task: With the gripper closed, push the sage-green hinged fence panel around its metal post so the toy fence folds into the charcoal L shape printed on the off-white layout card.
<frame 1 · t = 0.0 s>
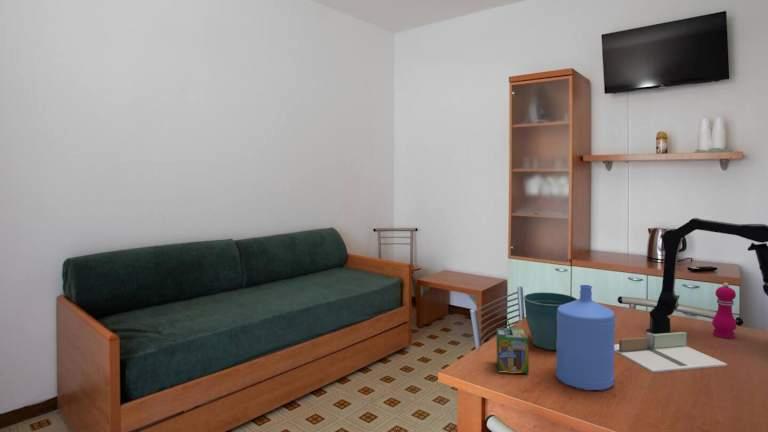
layout card: (663, 355, 150), on the table
flower pot: (549, 345, 162), on the table
pepper mill: (723, 336, 168), on the table
hinged panel: (669, 340, 156), point 3 cm above the table, hinge at 90.0°
water jug: (584, 380, 133), on the table
chalk box: (511, 368, 142), on the table
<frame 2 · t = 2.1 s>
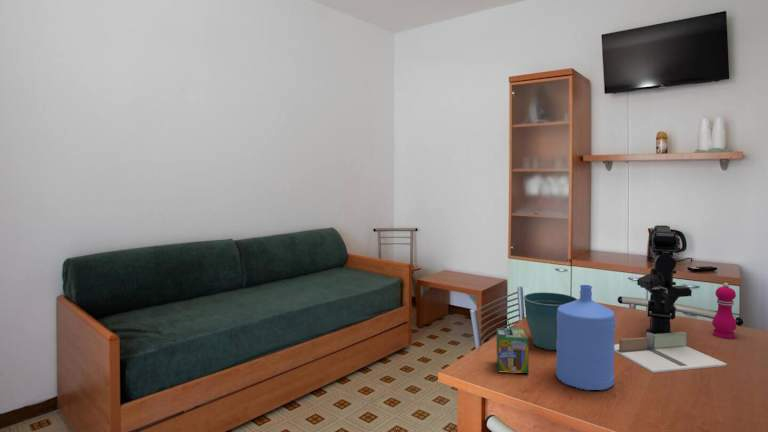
hand: (662, 310, 160), 12 cm above the table, tool pointing down, fingers open, 4 cm apart
nothing on the table moved.
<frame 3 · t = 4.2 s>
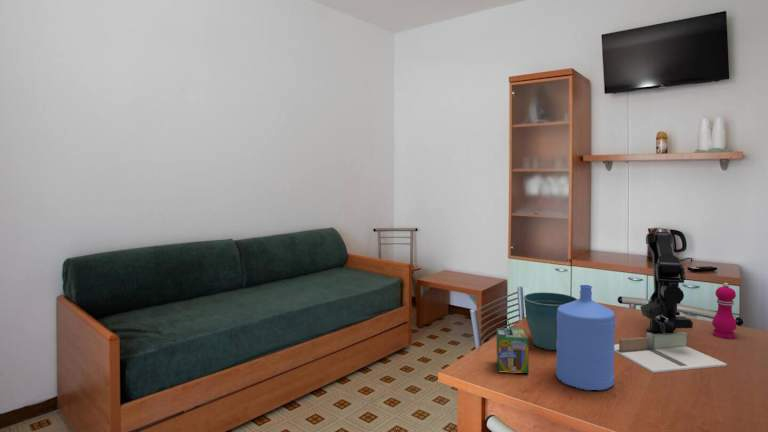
hand: (666, 339, 159), 2 cm above the table, tool pointing down, fingers closed
hinged panel: (669, 340, 156), point 3 cm above the table, hinge at 89.8°, touching gripper
everything else where it was.
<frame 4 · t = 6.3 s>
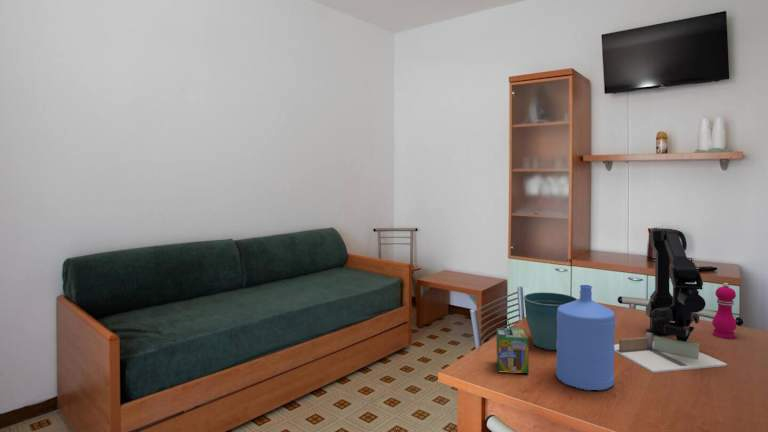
hand: (680, 348, 151), 2 cm above the table, tool pointing down, fingers closed
hinged panel: (675, 346, 150), point 3 cm above the table, hinge at 39.3°, touching gripper
everything else where it was.
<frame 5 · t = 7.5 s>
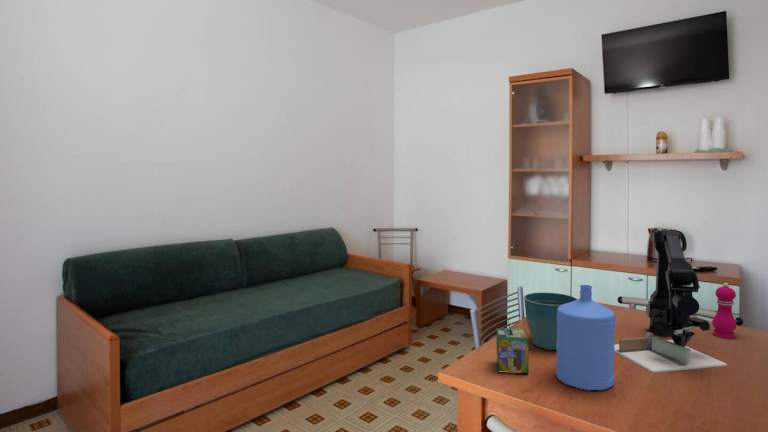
hand: (679, 352, 147), 2 cm above the table, tool pointing down, fingers closed
hinged panel: (670, 349, 147), point 3 cm above the table, hinge at 9.2°, touching gripper
everything else where it was.
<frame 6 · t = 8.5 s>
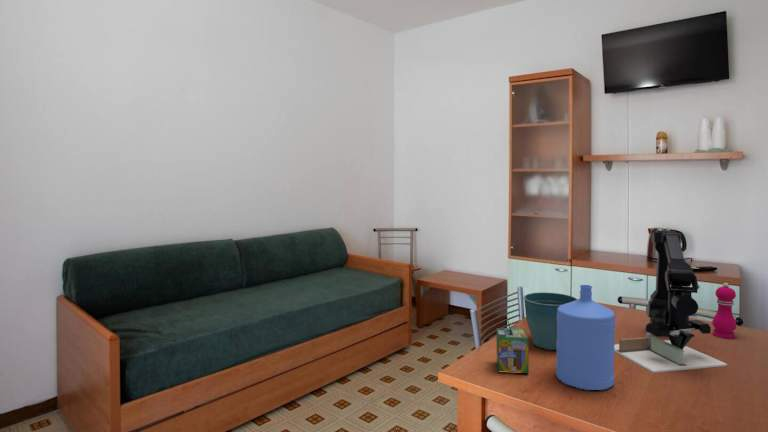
hand: (676, 353, 146), 2 cm above the table, tool pointing down, fingers closed
hinged panel: (666, 349, 147), point 3 cm above the table, hinge at -2.0°
everything else where it was.
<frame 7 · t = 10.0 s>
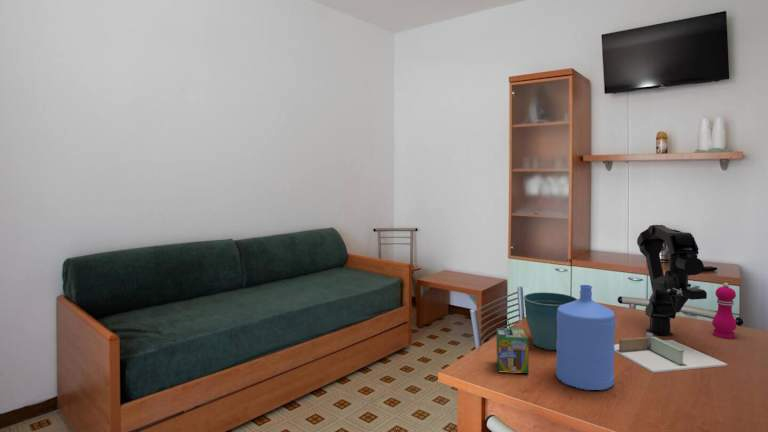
hand: (676, 312, 159), 12 cm above the table, tool pointing down, fingers closed
nothing on the table moved.
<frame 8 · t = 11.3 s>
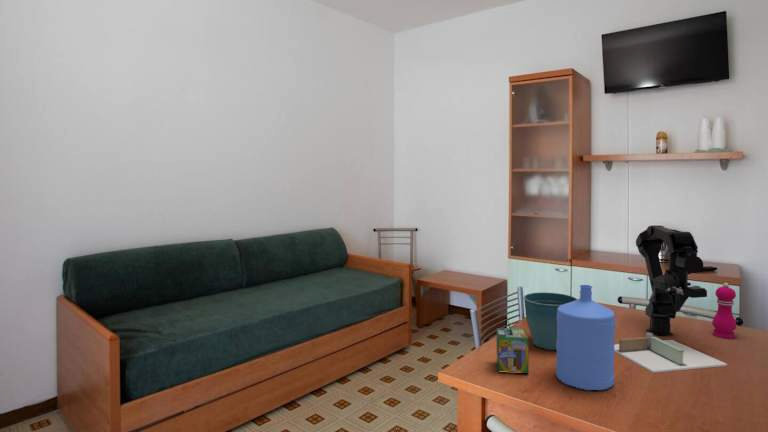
hand: (676, 311, 159), 12 cm above the table, tool pointing down, fingers closed
nothing on the table moved.
at the end: hinged panel at -2° (first picture: +90°) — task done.
